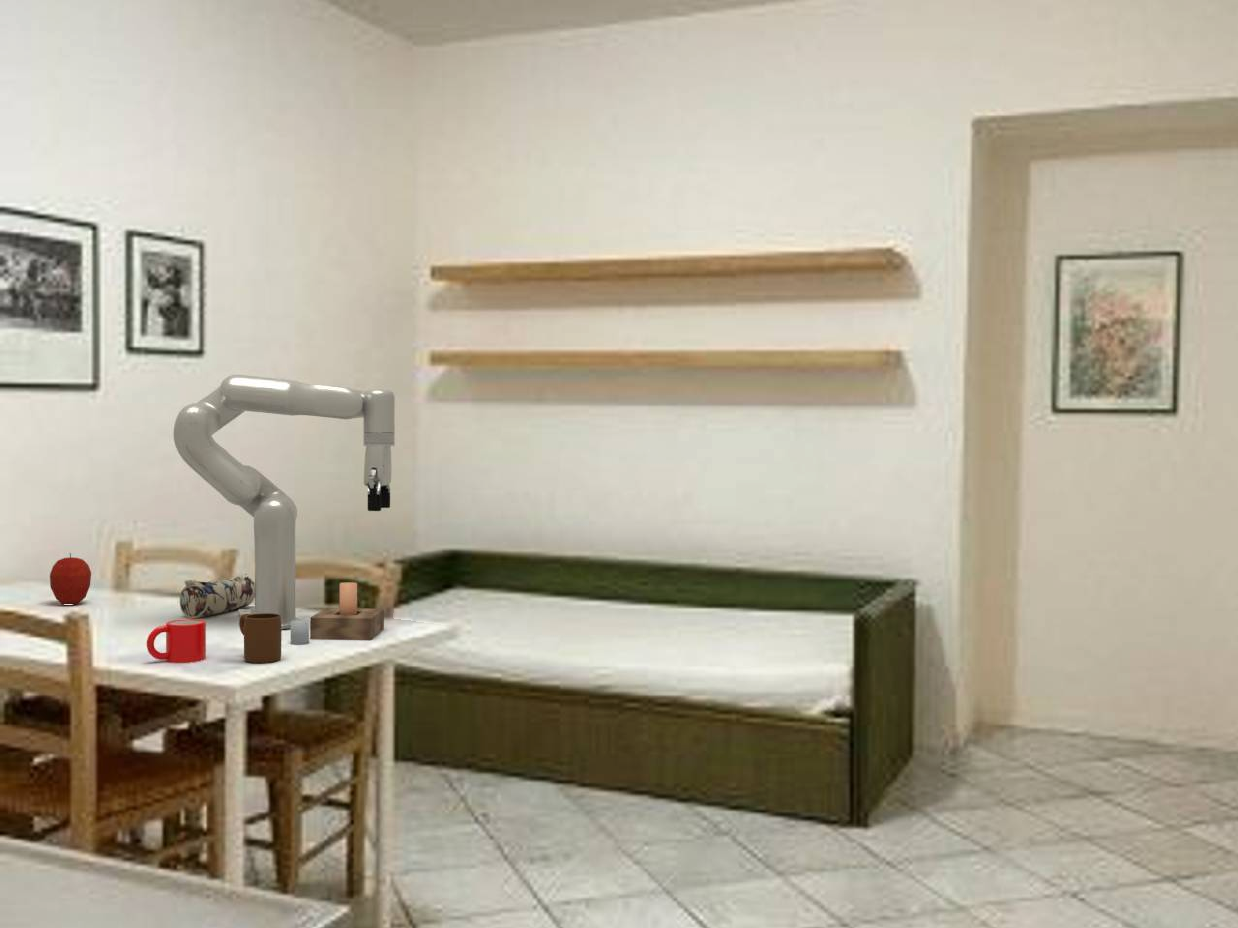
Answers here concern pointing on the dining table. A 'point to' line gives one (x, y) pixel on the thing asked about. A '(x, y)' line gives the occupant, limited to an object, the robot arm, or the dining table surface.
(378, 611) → the walnut hole block
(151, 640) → the mug
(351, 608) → the long pin
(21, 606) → the dining table surface
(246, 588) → the pencil case
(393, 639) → the dining table surface
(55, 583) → the apple
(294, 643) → the short pin
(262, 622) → the mug
